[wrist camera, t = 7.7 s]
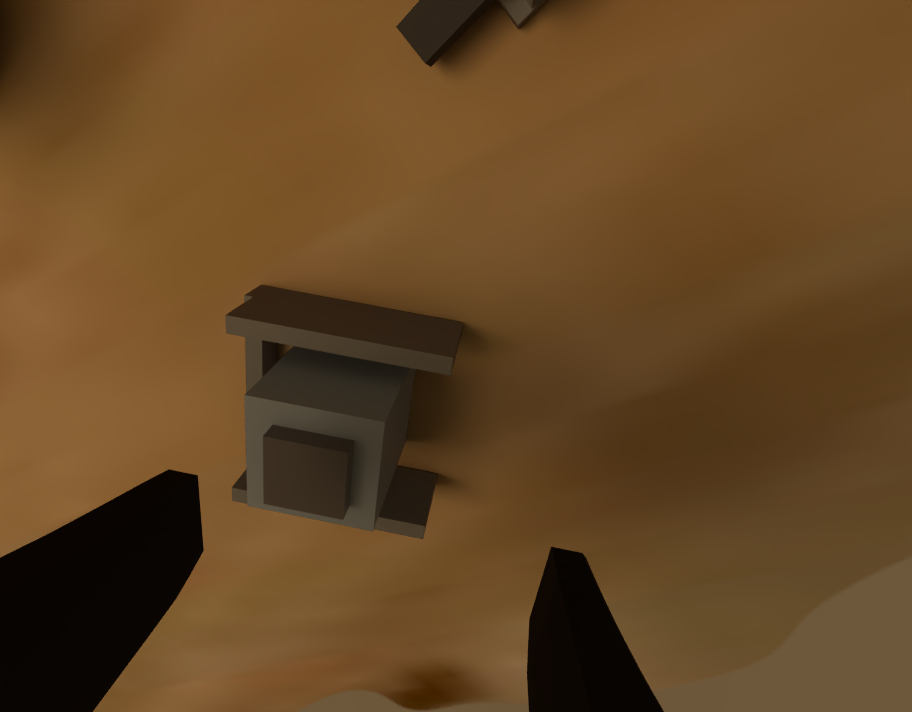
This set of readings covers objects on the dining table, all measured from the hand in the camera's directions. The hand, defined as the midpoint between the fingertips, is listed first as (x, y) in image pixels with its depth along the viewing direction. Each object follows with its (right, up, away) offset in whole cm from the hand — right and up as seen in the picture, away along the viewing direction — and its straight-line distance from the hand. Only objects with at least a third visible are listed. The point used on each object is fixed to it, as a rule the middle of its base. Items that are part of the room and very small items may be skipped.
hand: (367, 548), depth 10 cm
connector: (-2, +3, +9) cm, 10 cm away
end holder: (-2, +2, +9) cm, 10 cm away
